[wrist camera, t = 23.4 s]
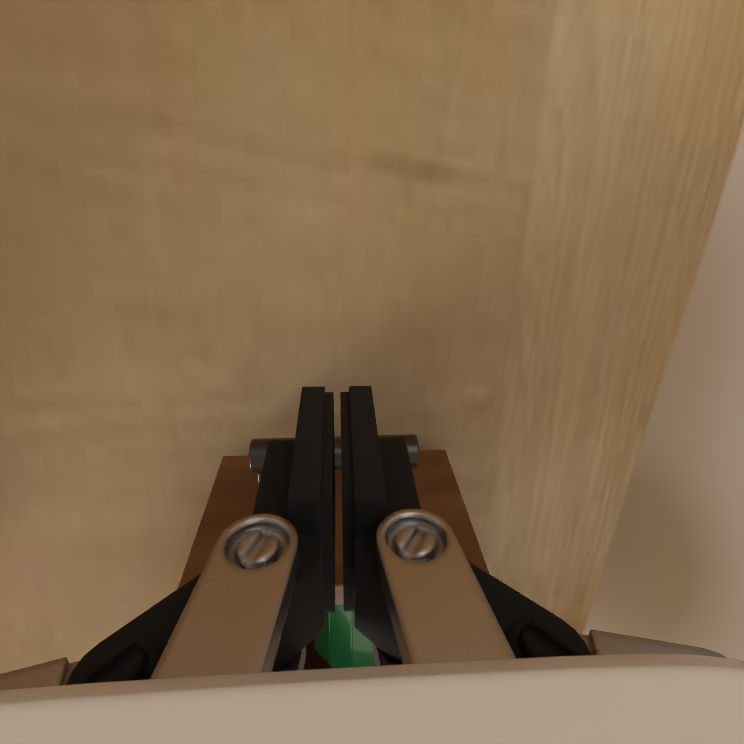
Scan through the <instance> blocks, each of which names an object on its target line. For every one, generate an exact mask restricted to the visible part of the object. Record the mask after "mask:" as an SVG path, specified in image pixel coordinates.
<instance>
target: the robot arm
mask: <svg viewBox="0 0 744 744" xmlns="http://www.w3.org/2000/svg"><path fill="white" fill-rule="evenodd" d="M340 396H341V468H342V534H343V598H344V612H345V611H354V627H355V628H356V629H357V630H358V631H359V632H361V633H362V634H363V635H364V636H365V637H366V638H368V639H369V640H370V641H371V642H372V643H373V655H374V660H375V664H376V666H367V667H349V668H331V669H314V670H303V669H304V664H305V659H306V646H307V645H308V644H309V643H310V642H311V641H312V640H313V639H314V638H315V637H316V636H317V635H318V634H319V633H320V632H321V631H322V630H325V612H335V443H334V397H333V392H325V387H302V392H301V399H300V407H299V415H298V422H297V430H296V437H295V440H270V441H269V442H268V445H267V450H266V455H265V459H264V464H263V468H262V473H261V478H260V482H259V487H258V492H257V496H256V501H255V505H254V510H253V515H252V516H248V517H244V518H242V519H240V520H238V521H236V522H234V523H232V524H231V525H230V526H229V527H228V528H226V529H225V530H224V531H223V533H222V534H221V535H220V537H219V538H218V540H217V542H216V544H215V546H214V548H213V550H212V552H211V554H210V556H209V558H208V560H207V562H206V565H205V567H204V569H203V571H202V573H201V574H199V575H198V576H196V577H195V578H193V579H192V580H191V581H189V582H188V583H186V584H185V585H183V586H182V587H180V588H179V589H177V590H176V591H175V592H173V593H172V594H170V595H169V596H167V597H166V598H164V599H163V600H161V601H160V602H159V603H157V604H156V605H154V606H153V607H151V608H150V609H148V610H147V611H145V612H144V613H143V614H141V615H140V616H138V617H137V618H135V619H134V620H132V621H131V622H129V623H128V624H126V625H125V626H124V627H122V628H121V629H119V630H118V631H116V632H115V633H113V634H112V635H110V636H109V637H108V638H106V639H105V640H103V641H102V642H100V643H99V644H98V645H96V646H95V647H94V648H93V649H92V650H90V651H89V652H88V653H87V654H86V655H84V657H83V658H82V659H81V660H80V661H78V662H74V663H70V664H69V662H68V660H67V658H66V657H65V658H61V659H58V660H54V661H50V662H46V663H42V664H38V665H34V666H30V667H27V668H23V669H19V670H15V671H11V672H7V673H3V674H0V744H744V661H741V660H736V659H730V658H726V657H725V656H723V655H721V654H720V653H717V652H713V651H710V650H707V649H704V648H699V647H693V646H687V645H681V644H675V643H669V642H663V641H657V640H651V639H645V638H639V637H633V636H627V635H621V634H615V633H609V632H604V631H597V630H590V633H589V636H588V635H582V634H578V633H577V632H576V630H575V629H573V628H572V627H571V626H570V625H568V624H567V623H566V622H564V621H563V620H562V619H560V618H559V617H557V616H555V615H554V614H552V613H551V612H549V611H547V610H546V609H544V608H543V607H541V606H539V605H538V604H536V603H535V602H533V601H531V600H530V599H528V598H527V597H525V596H523V595H522V594H520V593H519V592H517V591H515V590H514V589H512V588H511V587H509V586H507V585H506V584H504V583H503V582H501V581H499V580H498V579H496V578H495V577H493V576H491V575H490V574H488V573H487V572H485V571H483V570H482V569H480V568H479V567H477V566H475V565H474V564H472V563H471V562H469V561H468V560H467V558H466V556H465V554H464V552H463V550H462V548H461V546H460V544H459V542H458V540H457V538H456V536H455V534H454V531H453V530H452V529H451V527H450V526H449V524H448V523H447V522H446V521H445V520H443V519H442V518H441V517H439V516H438V515H436V514H433V513H431V512H429V511H425V510H421V507H420V503H419V498H418V494H417V489H416V485H415V480H414V476H413V471H412V467H411V462H410V458H409V454H408V449H407V445H406V441H405V438H404V437H384V438H378V433H377V426H376V419H375V411H374V404H373V396H372V389H371V386H349V392H340Z"/></svg>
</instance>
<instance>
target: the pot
mask: <svg viewBox="0 0 744 744" xmlns="http://www.w3.org/2000/svg"><path fill="white" fill-rule="evenodd" d="M313 643H314V646H315V649H316V651H317V652H318V653H319V654H320V655H321V657H322V658H323V659H324V660H325V661H326V662H327V663H328V665H329V666H331V667H332V668H349V667H367V666H376V664H375V660H374V655H373V643H372V642H371V641H370V640H369V639H368V638H366V637H365V636H364V635H363V634H362V633H361V632H359V631H358V630H357V629H356V628H355V627H354V611H345V612H344V605H335V612H325V630H322V631H321V632H320V633H319V634H318V635H317V636H316V637H315V638H314V639H313Z"/></svg>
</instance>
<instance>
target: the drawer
mask: <svg viewBox="0 0 744 744" xmlns="http://www.w3.org/2000/svg"><path fill="white" fill-rule="evenodd" d="M384 437H404V438H405V441H406V445H407V449H408V454H409V458H410V462H411V467H412V471H413V476H414V480H415V485H416V489H417V494H418V498H419V503H420V507H421V510H425V511H429V512H431V513H433V514H436V515H438V516H439V517H441V518H442V519H443V520H445V521H446V522H447V523H448V524H449V526H450V527H451V529H452V530H453V531H454V534H455V536H456V538H457V540H458V542H459V544H460V546H461V548H462V550H463V552H464V554H465V556H466V558H467V560H468V561H469V562H471V563H472V564H474V565H475V566H477V567H479V568H480V569H482V570H483V571H485V572H487V573H488V574H489V572H488V569H487V566H486V563H485V560H484V558H483V555H482V552H481V549H480V546H479V544H478V541H477V538H476V535H475V532H474V530H473V527H472V524H471V521H470V518H469V515H468V513H467V510H466V507H465V504H464V501H463V499H462V496H461V493H460V490H459V487H458V484H457V482H456V479H455V476H454V473H453V470H452V468H451V465H450V462H449V459H448V456H447V454H446V451H445V450H423V451H419V445H418V439H417V437H416V435H378V438H384ZM270 440H295V438H264V439H252V441H251V443H250V449H249V456H224V457H223V459H222V462H221V464H220V467H219V470H218V473H217V476H216V479H215V482H214V485H213V488H212V491H211V494H210V497H209V499H208V502H207V505H206V508H205V511H204V514H203V517H202V520H201V523H200V526H199V529H198V531H197V534H196V537H195V540H194V543H193V546H192V549H191V552H190V555H189V558H188V561H187V564H186V566H185V569H184V572H183V575H182V578H181V581H180V584H179V587H178V589H179V588H180V587H182V586H183V585H185V584H186V583H188V582H189V581H191V580H192V579H193V578H195V577H196V576H198V575H199V574H201V573H202V571H203V569H204V567H205V565H206V562H207V560H208V558H209V556H210V554H211V552H212V550H213V548H214V546H215V544H216V542H217V540H218V538H219V537H220V535H221V534H222V533H223V531H224V530H225V529H226V528H228V527H229V526H230V525H231V524H232V523H234V522H236V521H238V520H240V519H242V518H244V517H248V516H252V515H253V510H254V505H255V501H256V496H257V492H258V487H259V482H260V478H261V473H262V468H263V464H264V459H265V455H266V450H267V445H268V442H269V441H270ZM334 443H335V605H344V598H343V534H342V468H341V436H339V437H334ZM331 668H332V667H331V666H329V665H328V663H327V662H326V661H325V660H324V659H323V658H322V657H321V655H320V654H319V653H318V652H317V651H316V649H315V646H314V643H313V640H312V641H311V642H310V643H309V644H308V645H307V646H306V659H305V664H304V669H303V670H314V669H331Z"/></svg>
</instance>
